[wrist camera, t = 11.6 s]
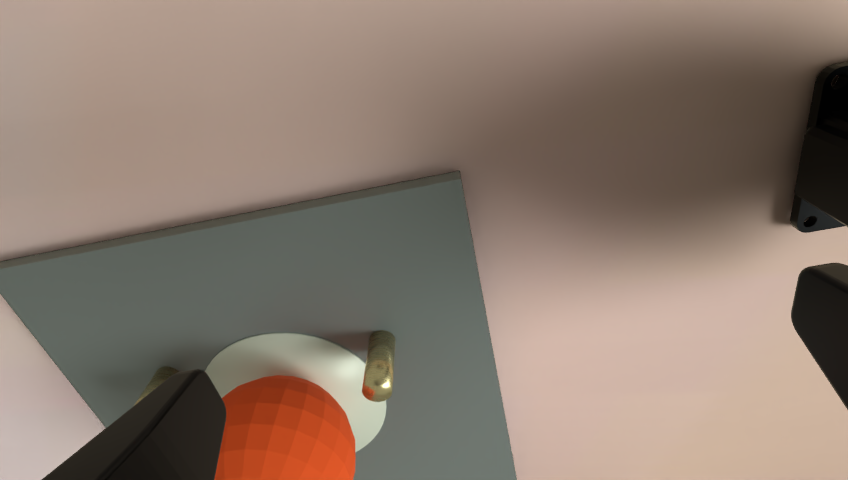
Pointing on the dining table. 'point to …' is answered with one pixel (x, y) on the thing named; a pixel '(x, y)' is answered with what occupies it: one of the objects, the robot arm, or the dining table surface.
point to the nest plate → (293, 318)
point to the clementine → (285, 433)
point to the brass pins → (375, 374)
